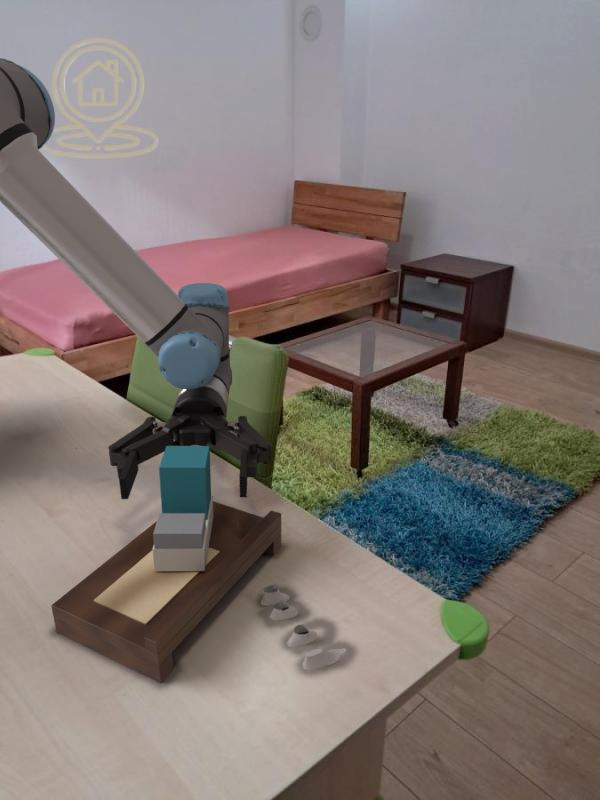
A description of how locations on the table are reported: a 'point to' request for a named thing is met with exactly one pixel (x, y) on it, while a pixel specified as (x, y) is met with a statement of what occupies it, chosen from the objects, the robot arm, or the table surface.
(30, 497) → the table surface
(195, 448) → the stacked toy blocks
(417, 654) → the table surface
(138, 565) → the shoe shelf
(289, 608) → the baby socks
